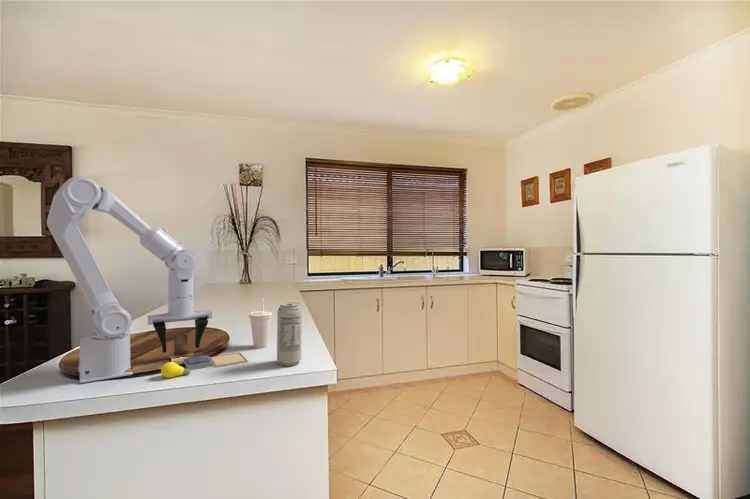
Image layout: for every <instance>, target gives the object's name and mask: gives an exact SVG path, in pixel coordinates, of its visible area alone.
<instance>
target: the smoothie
mask: <svg viewBox="0 0 750 499" xmlns="http://www.w3.org/2000/svg"><path fill="white" fill-rule="evenodd" d="M264 301H265V298H264V297H262V298H261V310H259V311H252V312H250V313H249V314H248V318H249V319H250V327H251V335H252V344H253V348H254V349H265V348H267V347H268V342H269V335H270V326H271V320H272V319H271V318H272V317H273V312H271V311H268V310H265V303H264Z"/></svg>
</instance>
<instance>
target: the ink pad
mask: <svg viewBox="0 0 750 499" xmlns="http://www.w3.org/2000/svg"><path fill="white" fill-rule="evenodd" d="M209 357H210V355H207V354H204V355H197V356H193V357H190V358H187V359H184V362H183V363H184V366H185V369H189V370H190V371H192V370H197V369H205V368H209V367H214V366H213V362H212V361H211V359H210V358H209Z"/></svg>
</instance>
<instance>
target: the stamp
mask: <svg viewBox="0 0 750 499" xmlns="http://www.w3.org/2000/svg"><path fill="white" fill-rule="evenodd" d="M188 337H189V336H188V333H177V334H175V335H173V338H174V342H173V343H174V346H173V347H174V351H170V352H168V357H169V356H170V357H171V358H179V357H194V353H193V351H192V349H188V348H189V347H188V346H189V344H188V340H189V339H188Z"/></svg>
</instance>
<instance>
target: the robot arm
mask: <svg viewBox="0 0 750 499" xmlns="http://www.w3.org/2000/svg"><path fill="white" fill-rule="evenodd" d="M90 209H91V211H95V212H101V213H105V214H108V215H110V216H111V217H112V218H114V219H116V220H117V221H118V222H120V223H121V224H122V225H123V226H125V227H126V228H128V229H129V230H130V231H132V232H133V233H135V234H136V235H137V236H139V244H140V246H142V247H143V248H145V249H146V250H147V251H149V253H151V254H152V255H153V256H155V257H156V258H158V259H159V260H160V261H162V262H164V265H165V266H166V268H167V269H168V279H167V286H168V287H167V290H168V293H167V294H168V296H167V304H168V305H167V307H168V310H167V313H166V312H165V313H159V314H151V315H147V326H153V328H154V330H155V332H156V334H157V336H158V338H159V341H160V344H161V350H162V353H163V354H165V353H167V340H166V337H167V335H166V334H167V326H166V324H167V323H176V322H187V321H194V325H195V326H194V328H195V329H194V330H195V335H194V347H195V348H196V349H199V348H200V346H201V340H202V338H203V334H204V332H205V330H206V328H207V326H208V324H209V320H210V319H212V320H213V310H210V309H204V310H194V308H195V307H194V303H195V302H194V297H195V296H194V294H195V293H194V291H195V290H194V285H195V284H194V281H195V280H194V270H195V269H196V268H197V265H198V260H197V259H196V256H195V254H194V253H193V252H192V251H190V250H188V249H184V246H185V245H184V244H183V243H181V242H180V243H179V242H178V241H177V240H175V239H174V238H173V237H172V236H171V235H170V234H169V233H170V231H169V230H167V228H161V227H160V226H150V225H149V224H148V223H147V222H145V221H144V220H143V219H142V218H141V217H140V216H139V215H138V214H136V213H135V212H134V211H133V210H132V209H131V208H130V207H128V206H127V205H126V204H125V203H124V202H123V201H122V200H120V199H119V198H118V197H117V196H116V195H114V194H113V193H112V192H111V191H109V190H108V189H107V188H106V187H103V186H100V185H99V184H98V183H97V182H96V181H95V180H94V179H92V178H90V177H87V176H84V175H83V176H81V175H79V176H77V175H76V176H72V177H70V178H68V179H67V180H66V181H65V182H64V183H62V185H60V187H59V188H58V189H57V190H56V192H55V193H54V194H53V197H52V202H51V205H50V209H49V213H48V215H47V219H46V224H47V229H49V231H50V232H49V233H51V235H52V237H53V240H54V241H55V243H56V245H57V246H58V249H59V251H60V252H61V254H62V256H63V257H64V259H65V261H66V264H67V265H68V267H69V269H70V271H71V273H72V275H73V276H74V278H75V280H76V282H77V284H78V286H79V288H80V289H81V291H82V293H83V295H84V297H85V299H86V302H87V304H88V306H89V308H90V310H91V315H90V319H91V323H92V324H93V326H94V327H96V328H95V329H94V330H93V332H91V335H90V336H89V337H82V338H80V341H79V353H78V354H79V363H78V368H77V369H78V373H79V384H84V383H89V382H97V381H102V380H109V379H114V378H120V377H126V376H127V377H128V376H132V375H133V374H134V371H133V372H125V371H126V370H127V369H128V368H129V367H130V363H131V329H130V327H131V326H132V316H131V314H130V313H129V311H128V310H126V309H124V308H123V307H122V306H121V305H120V303H119V301H118V300H117V298H116V297H115V296H114V293H113V292H112V290H111V288H110V286H109V285H108V283H107V280H106V279H105V277H104V274H103V273H102V271H101V269H100V266H99V264H98V263H97V261H96V258H95V257H94V255H93V252H92V251H91V249H90V248H89V245H88V243H87V242H86V240H85V237H84V236H83V233H82V232H81V230H80V228H79V223H80V222H81V221H82V219H83V217H84V216H85V214H86V212H88V211H89V210H90ZM85 371H89V373H85ZM124 372H125V373H124Z"/></svg>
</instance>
